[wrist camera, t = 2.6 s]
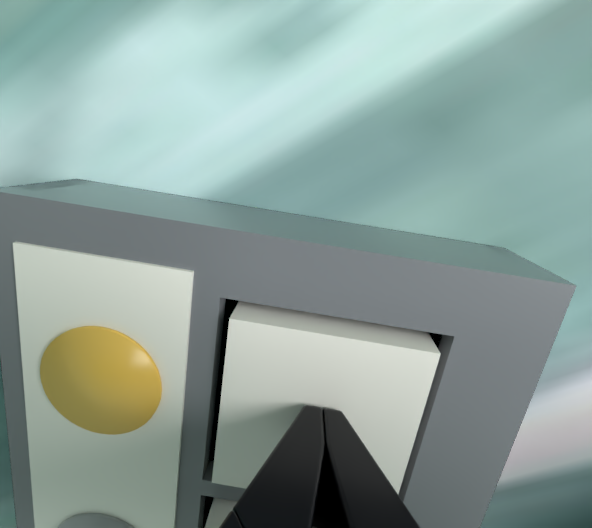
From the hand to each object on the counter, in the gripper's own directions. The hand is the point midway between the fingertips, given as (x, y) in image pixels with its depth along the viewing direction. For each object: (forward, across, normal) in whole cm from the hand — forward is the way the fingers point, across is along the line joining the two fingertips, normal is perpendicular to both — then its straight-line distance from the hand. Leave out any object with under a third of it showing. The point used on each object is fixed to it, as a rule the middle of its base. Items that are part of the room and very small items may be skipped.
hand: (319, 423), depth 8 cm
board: (+3, +2, +6) cm, 7 cm away
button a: (+2, 0, 0) cm, 2 cm away
